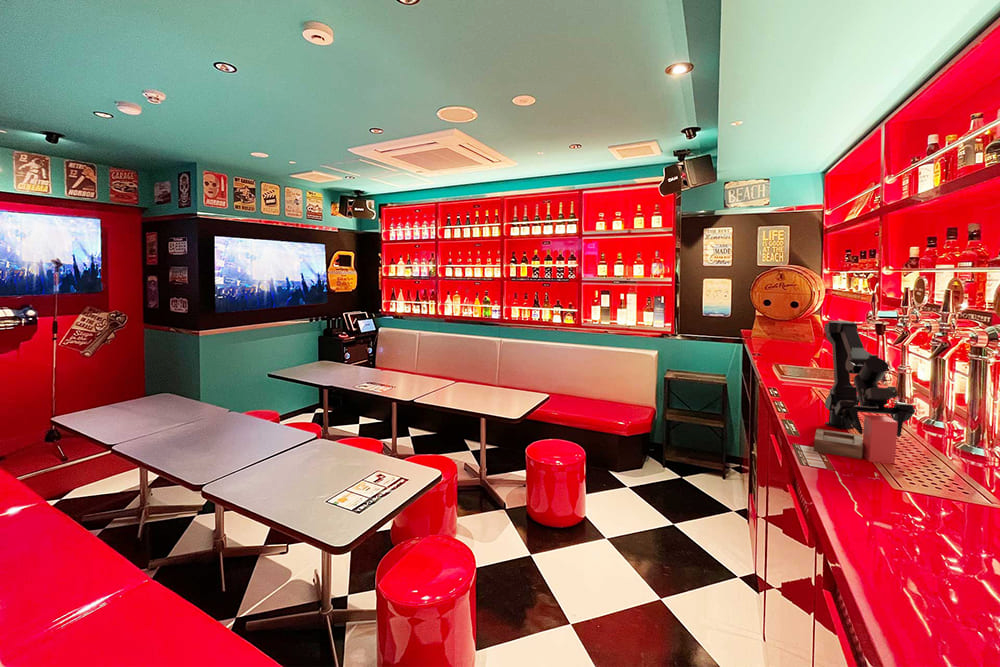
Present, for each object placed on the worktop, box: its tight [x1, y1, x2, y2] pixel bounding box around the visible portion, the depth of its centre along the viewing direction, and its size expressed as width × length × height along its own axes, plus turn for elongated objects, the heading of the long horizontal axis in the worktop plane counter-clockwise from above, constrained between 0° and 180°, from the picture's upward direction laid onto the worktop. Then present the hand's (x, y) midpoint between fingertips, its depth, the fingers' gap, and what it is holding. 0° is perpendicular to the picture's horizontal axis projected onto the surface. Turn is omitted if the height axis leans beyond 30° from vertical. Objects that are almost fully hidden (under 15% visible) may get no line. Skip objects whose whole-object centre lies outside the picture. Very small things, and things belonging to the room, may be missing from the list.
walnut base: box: [813, 428, 863, 460], centre depth 148 cm, size 12×12×4 cm
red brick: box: [862, 414, 898, 465], centre depth 140 cm, size 6×6×12 cm
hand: (880, 435), depth 139 cm, fingers open, 9 cm apart
